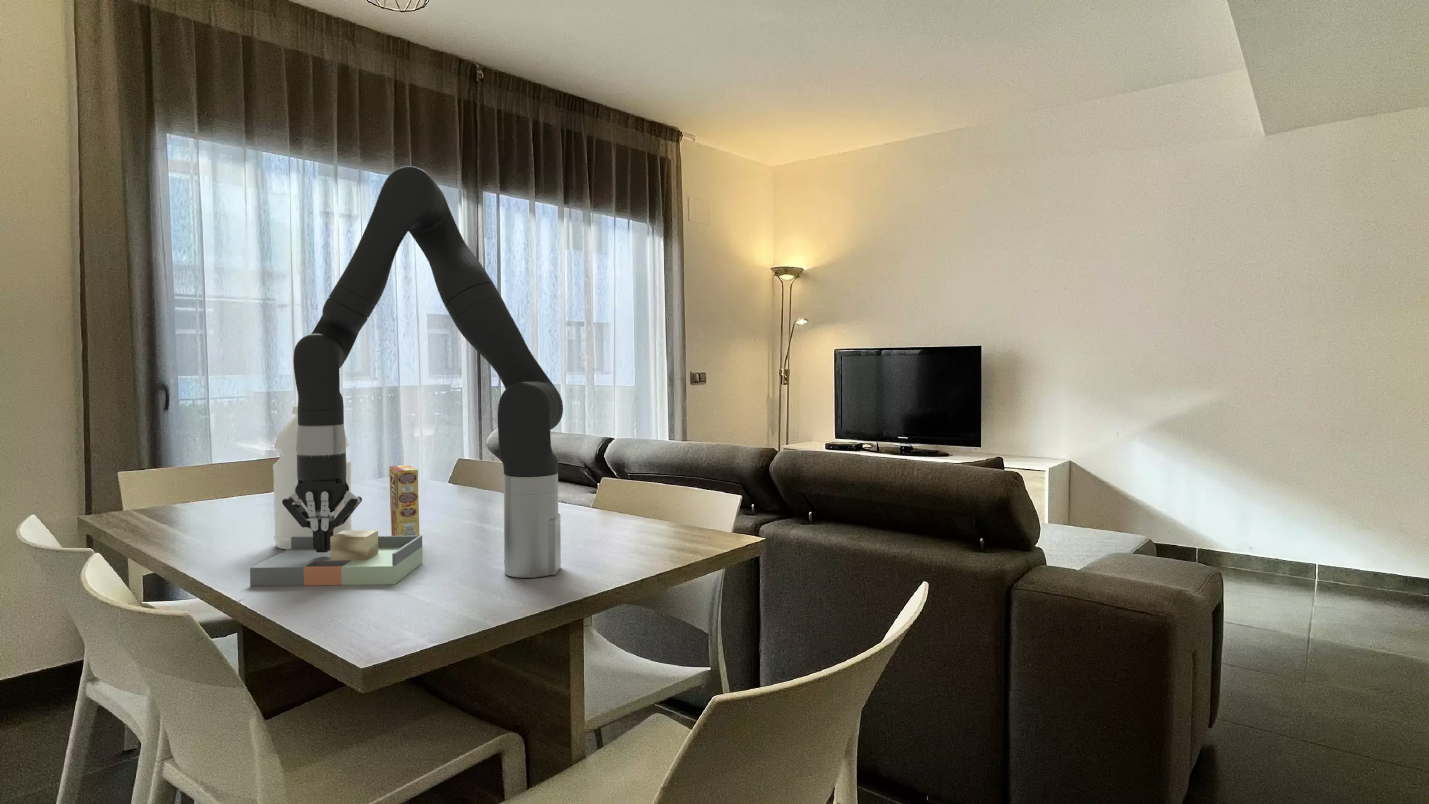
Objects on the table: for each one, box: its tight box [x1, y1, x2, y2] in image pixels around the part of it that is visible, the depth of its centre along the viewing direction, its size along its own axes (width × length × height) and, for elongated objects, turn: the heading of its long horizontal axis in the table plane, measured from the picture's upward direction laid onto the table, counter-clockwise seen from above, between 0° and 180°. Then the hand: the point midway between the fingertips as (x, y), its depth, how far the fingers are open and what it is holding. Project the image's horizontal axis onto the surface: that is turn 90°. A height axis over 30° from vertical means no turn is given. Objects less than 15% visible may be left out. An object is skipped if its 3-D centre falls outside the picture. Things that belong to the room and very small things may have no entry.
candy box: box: [388, 464, 421, 536], centre depth 156 cm, size 9×4×15 cm, turn 33°
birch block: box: [330, 530, 379, 560], centre depth 132 cm, size 6×5×4 cm
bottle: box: [272, 404, 353, 551], centre depth 155 cm, size 14×14×28 cm
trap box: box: [249, 535, 423, 587], centre depth 132 cm, size 23×14×5 cm, turn 93°
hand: (323, 551), depth 132 cm, fingers closed
